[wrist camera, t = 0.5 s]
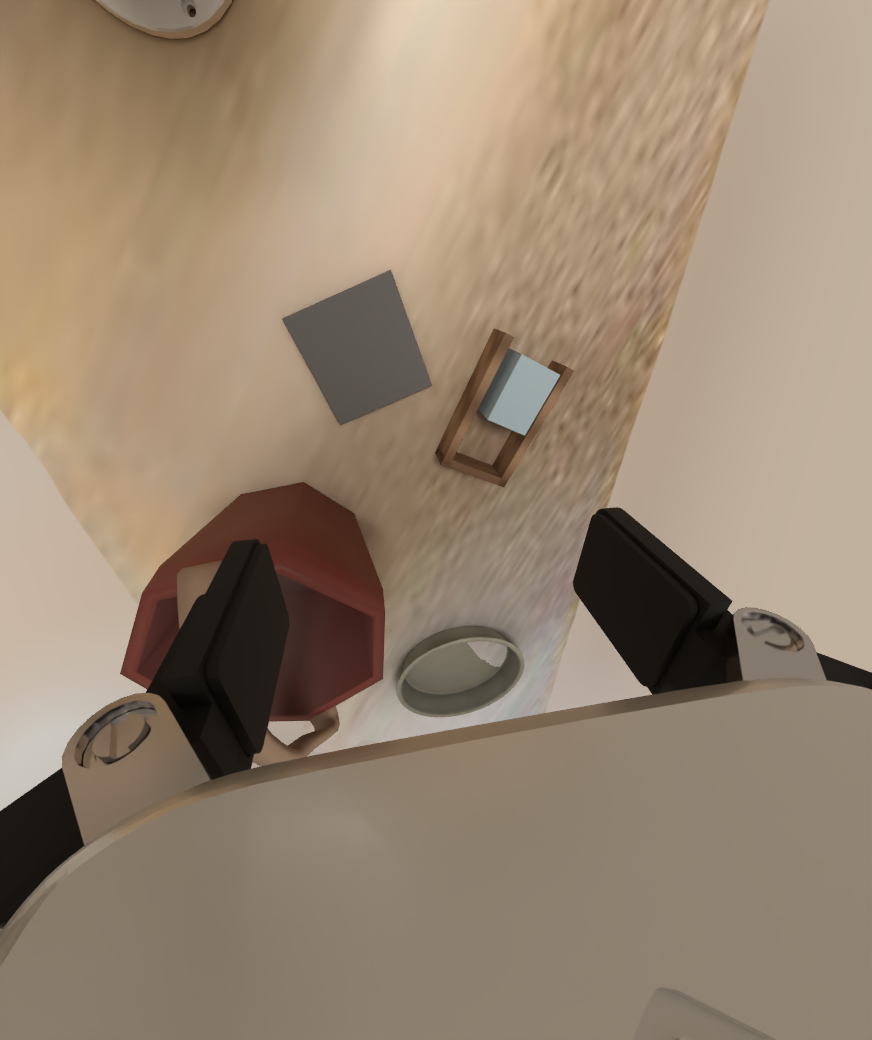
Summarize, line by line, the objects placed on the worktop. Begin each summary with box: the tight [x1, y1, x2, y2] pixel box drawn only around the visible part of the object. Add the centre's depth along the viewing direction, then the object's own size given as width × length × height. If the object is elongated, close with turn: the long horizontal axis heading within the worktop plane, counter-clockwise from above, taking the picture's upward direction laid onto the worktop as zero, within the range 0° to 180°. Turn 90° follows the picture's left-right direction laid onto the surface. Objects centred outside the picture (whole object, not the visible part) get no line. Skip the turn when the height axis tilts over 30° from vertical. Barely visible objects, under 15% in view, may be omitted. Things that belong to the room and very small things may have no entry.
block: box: [478, 348, 560, 436], centre depth 40 cm, size 7×5×5 cm
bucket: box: [120, 482, 385, 766], centre depth 38 cm, size 24×22×25 cm
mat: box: [282, 270, 432, 425], centre depth 37 cm, size 11×11×1 cm
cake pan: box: [397, 626, 524, 717], centre depth 69 cm, size 25×25×4 cm
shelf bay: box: [435, 329, 574, 487], centre depth 42 cm, size 15×9×4 cm, turn 155°
